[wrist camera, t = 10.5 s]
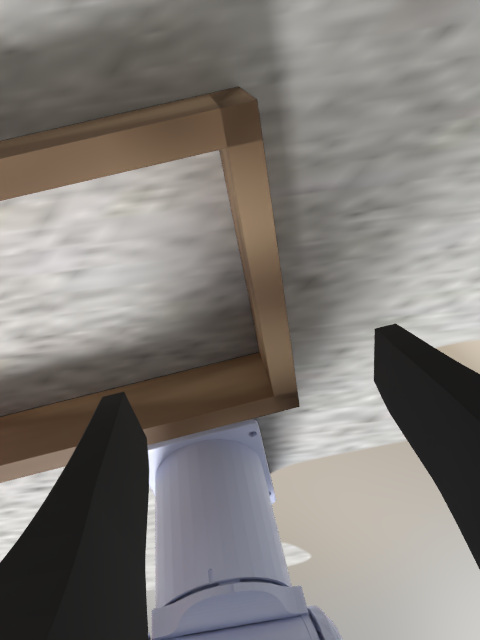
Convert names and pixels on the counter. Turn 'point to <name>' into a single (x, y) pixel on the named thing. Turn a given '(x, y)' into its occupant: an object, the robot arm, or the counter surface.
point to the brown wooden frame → (255, 250)
